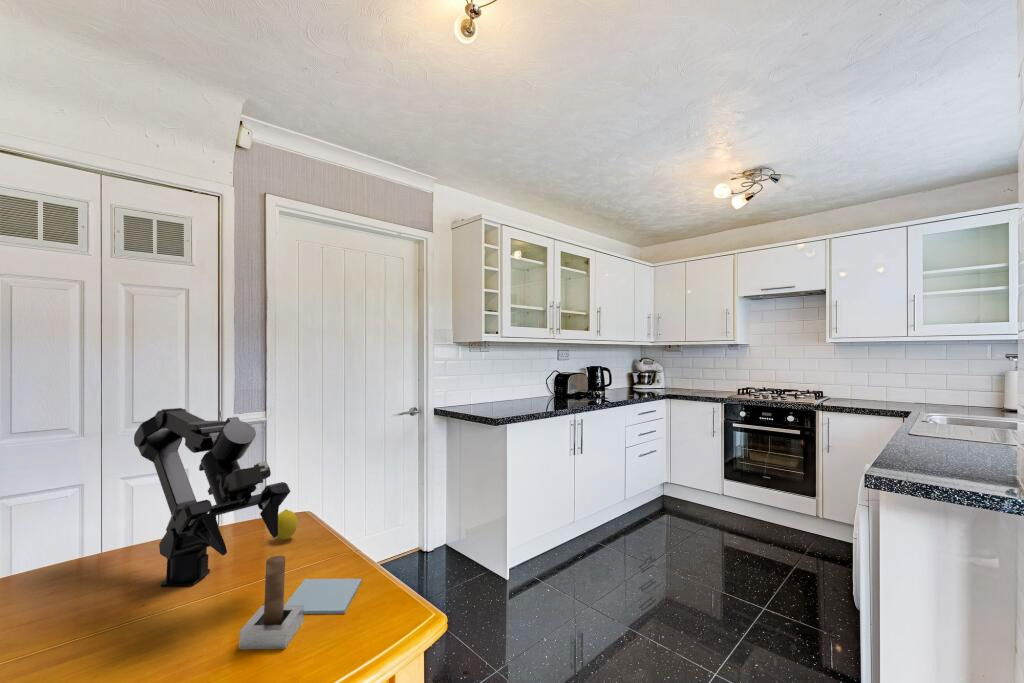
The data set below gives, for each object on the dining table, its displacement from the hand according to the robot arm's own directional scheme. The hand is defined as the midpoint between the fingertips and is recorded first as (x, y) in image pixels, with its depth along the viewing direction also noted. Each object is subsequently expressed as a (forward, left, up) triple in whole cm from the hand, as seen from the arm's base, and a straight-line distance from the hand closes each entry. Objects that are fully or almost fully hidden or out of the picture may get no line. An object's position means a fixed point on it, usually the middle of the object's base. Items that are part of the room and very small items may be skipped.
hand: (251, 545), depth 83 cm
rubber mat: (+11, +7, -13) cm, 19 cm away
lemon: (-9, +35, -14) cm, 39 cm away
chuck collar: (+6, -5, -13) cm, 16 cm away
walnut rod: (+6, -5, -14) cm, 16 cm away
